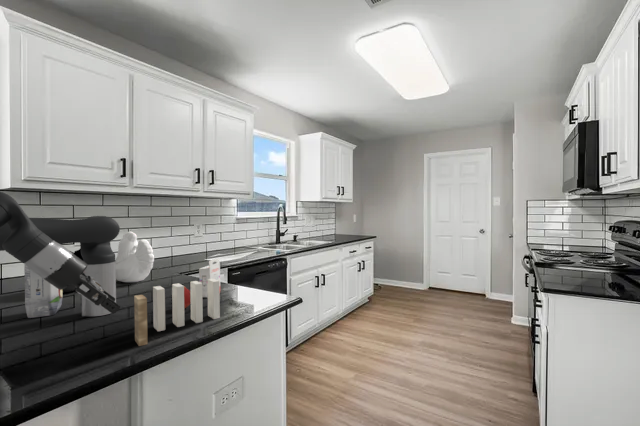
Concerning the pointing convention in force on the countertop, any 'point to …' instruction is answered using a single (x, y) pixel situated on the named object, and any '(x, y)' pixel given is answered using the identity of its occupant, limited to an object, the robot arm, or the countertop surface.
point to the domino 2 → (178, 304)
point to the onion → (186, 297)
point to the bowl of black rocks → (71, 286)
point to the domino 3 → (196, 301)
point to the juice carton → (40, 295)
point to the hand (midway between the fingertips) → (114, 306)
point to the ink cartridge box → (209, 275)
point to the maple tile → (140, 319)
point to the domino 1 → (159, 308)
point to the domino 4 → (213, 298)
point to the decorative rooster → (133, 259)
